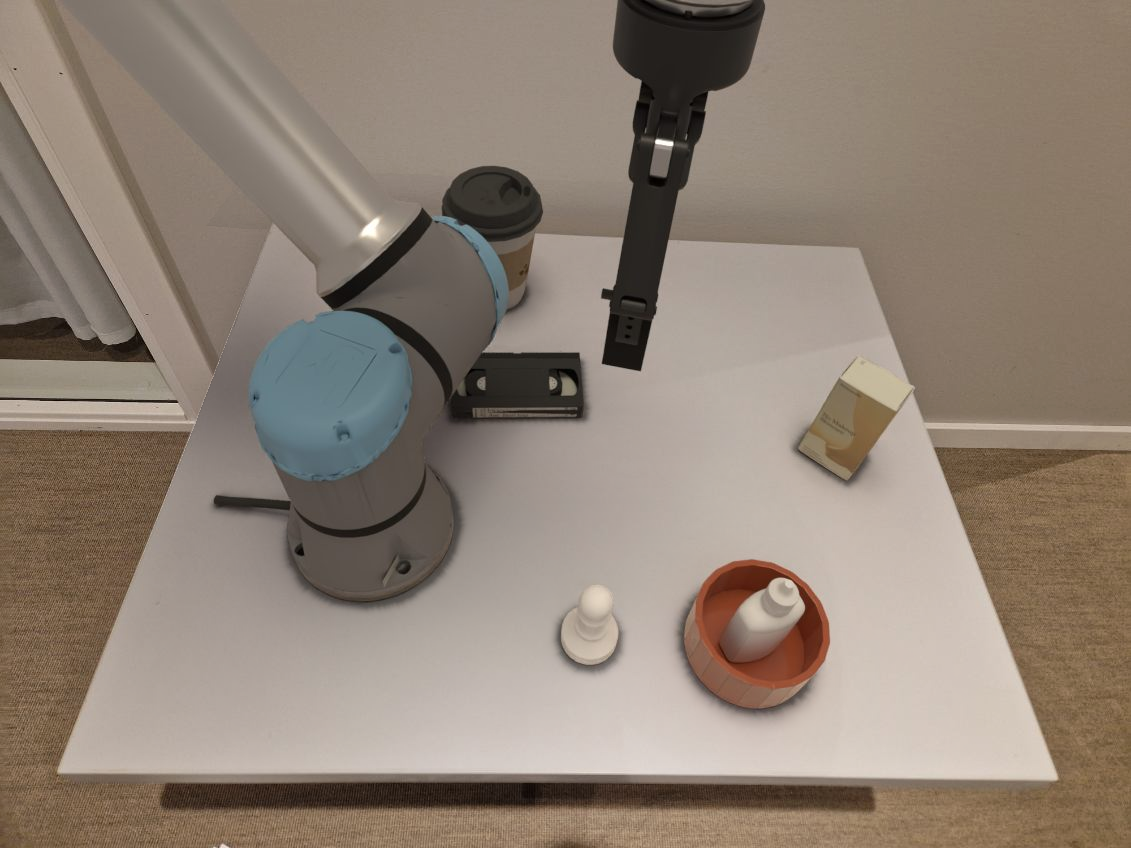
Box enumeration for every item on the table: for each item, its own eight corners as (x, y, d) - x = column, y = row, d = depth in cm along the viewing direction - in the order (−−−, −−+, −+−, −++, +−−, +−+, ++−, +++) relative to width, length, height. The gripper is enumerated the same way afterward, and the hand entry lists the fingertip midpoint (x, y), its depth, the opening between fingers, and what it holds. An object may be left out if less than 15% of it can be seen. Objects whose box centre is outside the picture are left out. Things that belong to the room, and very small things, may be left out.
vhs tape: (452, 418, 79) (450, 407, 77) (455, 364, 84) (453, 352, 82) (582, 417, 80) (584, 406, 78) (578, 364, 85) (579, 352, 83)
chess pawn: (558, 612, 66) (563, 567, 59) (613, 609, 66) (625, 565, 59) (562, 667, 63) (568, 627, 56) (619, 664, 63) (633, 624, 56)
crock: (679, 695, 62) (692, 674, 58) (687, 577, 69) (699, 549, 65) (811, 719, 61) (833, 700, 57) (806, 597, 68) (826, 571, 64)
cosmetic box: (795, 450, 79) (835, 375, 69) (815, 426, 81) (855, 351, 71) (849, 484, 76) (897, 411, 67) (867, 459, 78) (917, 385, 69)
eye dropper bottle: (781, 671, 63) (828, 616, 54) (717, 661, 63) (752, 605, 54) (779, 623, 66) (824, 563, 56) (717, 614, 66) (751, 552, 57)
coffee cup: (538, 326, 88) (542, 224, 76) (444, 322, 88) (433, 219, 76) (541, 264, 95) (545, 162, 83) (454, 260, 95) (445, 156, 83)
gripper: (762, 127, 29) (668, 439, 46) (772, -91, 44) (698, 205, 61) (577, 96, 29) (551, 417, 46) (650, -109, 44) (610, 189, 61)
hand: (634, 297), depth 54 cm, fingers open, 13 cm apart
